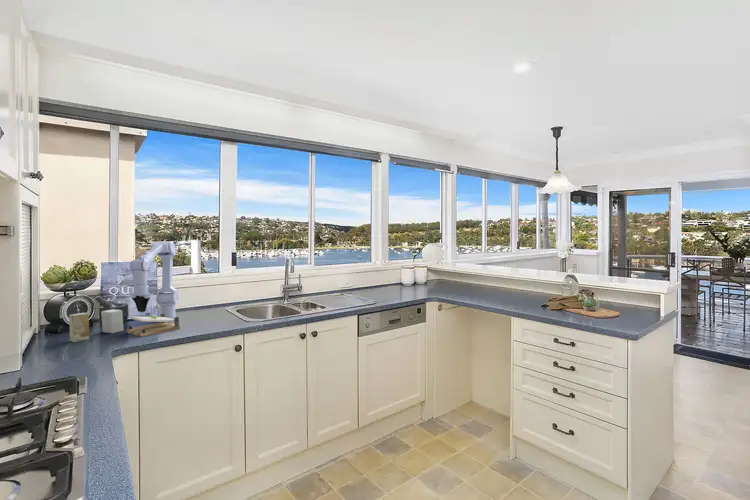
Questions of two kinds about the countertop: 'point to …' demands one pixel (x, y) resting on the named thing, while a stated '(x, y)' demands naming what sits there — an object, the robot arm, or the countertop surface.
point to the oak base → (154, 328)
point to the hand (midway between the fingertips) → (141, 311)
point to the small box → (112, 321)
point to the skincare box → (79, 327)
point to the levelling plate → (153, 319)
